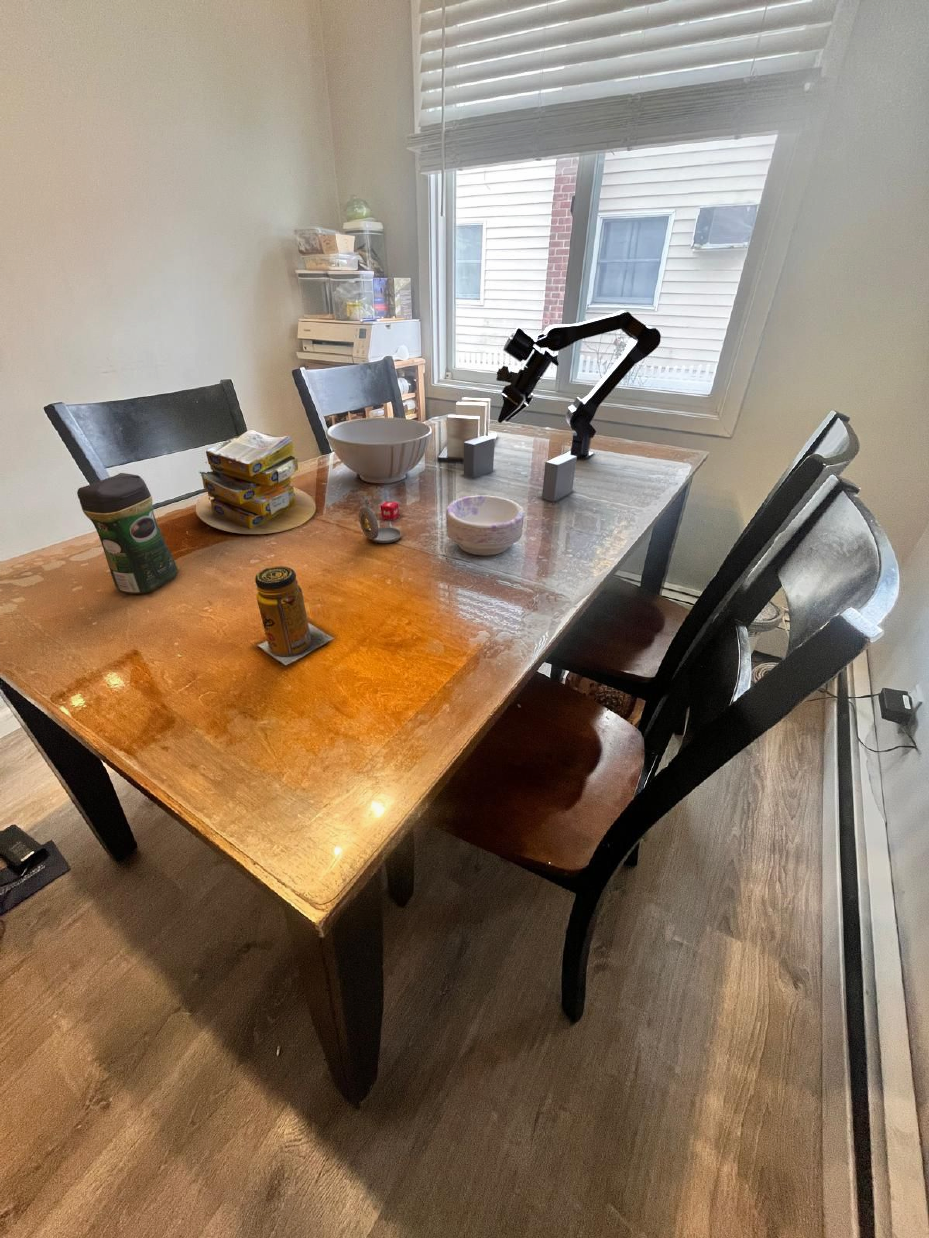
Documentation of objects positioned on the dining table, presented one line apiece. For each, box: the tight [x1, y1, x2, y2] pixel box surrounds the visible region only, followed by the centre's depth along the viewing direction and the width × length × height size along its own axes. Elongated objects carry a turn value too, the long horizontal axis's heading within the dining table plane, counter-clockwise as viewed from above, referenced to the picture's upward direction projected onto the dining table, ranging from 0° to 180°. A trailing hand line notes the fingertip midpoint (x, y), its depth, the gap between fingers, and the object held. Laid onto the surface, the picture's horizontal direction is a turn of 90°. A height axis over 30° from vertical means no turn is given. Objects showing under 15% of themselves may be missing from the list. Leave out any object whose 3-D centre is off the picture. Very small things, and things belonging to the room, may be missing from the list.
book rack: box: [437, 397, 498, 464], centre depth 158 cm, size 14×30×12 cm, turn 171°
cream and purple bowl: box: [445, 494, 525, 557], centre depth 102 cm, size 15×15×8 cm
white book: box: [455, 401, 487, 437], centre depth 158 cm, size 9×4×12 cm, turn 83°
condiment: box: [254, 565, 335, 666], centre depth 73 cm, size 7×8×12 cm
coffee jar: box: [76, 472, 179, 595], centre depth 85 cm, size 10×8×19 cm
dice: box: [379, 500, 400, 521], centre depth 115 cm, size 3×3×3 cm
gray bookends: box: [462, 436, 578, 502], centre depth 133 cm, size 9×28×9 cm, turn 51°
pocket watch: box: [358, 494, 402, 544], centre depth 104 cm, size 8×8×10 cm
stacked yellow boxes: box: [195, 429, 317, 535], centre depth 112 cm, size 25×25×17 cm
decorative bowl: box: [325, 416, 433, 484], centre depth 136 cm, size 27×27×12 cm
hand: (502, 421), depth 151 cm, fingers open, 9 cm apart
